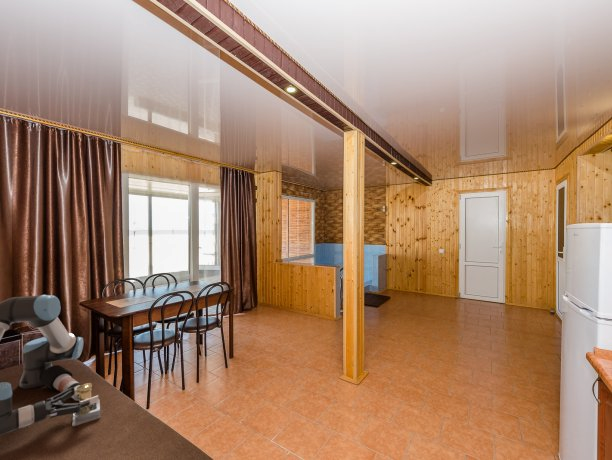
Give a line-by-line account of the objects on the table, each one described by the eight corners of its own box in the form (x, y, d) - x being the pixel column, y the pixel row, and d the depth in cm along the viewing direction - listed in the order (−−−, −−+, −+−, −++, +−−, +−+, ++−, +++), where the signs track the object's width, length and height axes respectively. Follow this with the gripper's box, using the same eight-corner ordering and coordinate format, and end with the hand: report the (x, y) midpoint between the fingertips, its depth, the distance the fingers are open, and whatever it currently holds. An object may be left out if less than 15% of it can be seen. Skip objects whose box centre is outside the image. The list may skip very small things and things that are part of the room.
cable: (80, 413, 145) (70, 401, 140) (47, 388, 160) (36, 376, 155) (100, 395, 152) (91, 382, 147) (66, 372, 167) (57, 361, 163)
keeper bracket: (73, 413, 138) (73, 406, 138) (99, 405, 144) (99, 398, 143) (72, 426, 129) (72, 419, 129) (100, 417, 135) (100, 410, 135)
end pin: (78, 413, 137) (77, 385, 136) (93, 408, 140) (92, 381, 139) (78, 419, 132) (76, 391, 131) (93, 414, 135) (92, 387, 135)
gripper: (31, 409, 132) (89, 389, 147) (35, 437, 114) (101, 412, 130) (30, 392, 131) (89, 374, 147) (35, 418, 114) (101, 395, 129)
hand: (94, 392), depth 138 cm, fingers open, 13 cm apart
